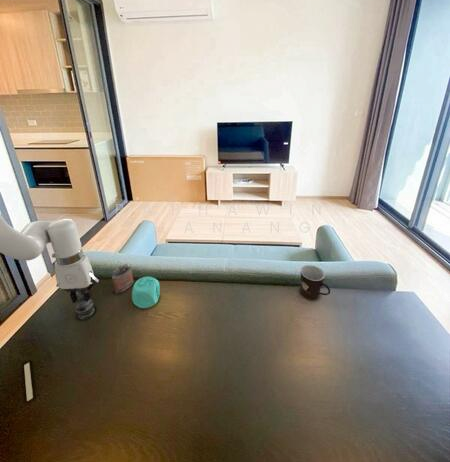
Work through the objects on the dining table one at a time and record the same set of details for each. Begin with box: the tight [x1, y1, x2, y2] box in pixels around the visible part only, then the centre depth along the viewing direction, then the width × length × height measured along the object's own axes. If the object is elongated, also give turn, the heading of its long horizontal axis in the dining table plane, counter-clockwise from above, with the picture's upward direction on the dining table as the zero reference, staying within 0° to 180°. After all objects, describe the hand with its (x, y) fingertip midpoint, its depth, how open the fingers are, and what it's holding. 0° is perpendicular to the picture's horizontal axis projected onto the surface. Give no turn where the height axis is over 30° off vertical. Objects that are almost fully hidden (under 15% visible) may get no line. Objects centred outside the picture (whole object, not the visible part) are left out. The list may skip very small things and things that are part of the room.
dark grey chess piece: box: [74, 288, 96, 320], centre depth 86 cm, size 6×6×12 cm
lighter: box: [111, 263, 135, 295], centre depth 98 cm, size 8×3×10 cm, turn 144°
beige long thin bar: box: [23, 362, 34, 402], centre depth 67 cm, size 12×1×1 cm, turn 41°
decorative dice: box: [131, 276, 161, 309], centre depth 92 cm, size 8×8×8 cm
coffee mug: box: [300, 264, 331, 300], centre depth 92 cm, size 12×9×10 cm
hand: (82, 298), depth 86 cm, fingers closed on dark grey chess piece, 3 cm apart
